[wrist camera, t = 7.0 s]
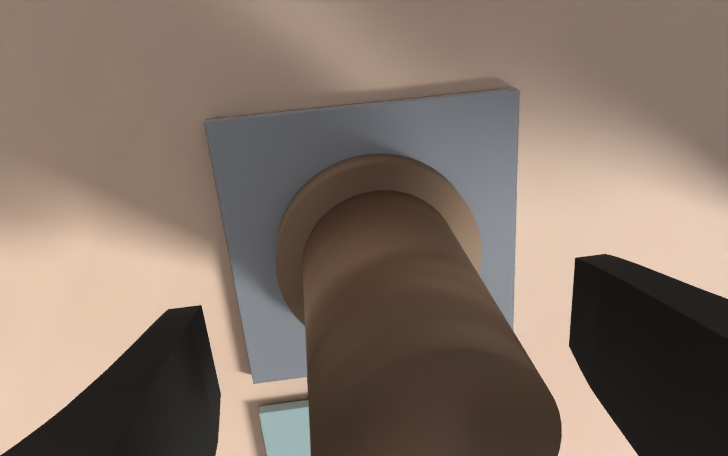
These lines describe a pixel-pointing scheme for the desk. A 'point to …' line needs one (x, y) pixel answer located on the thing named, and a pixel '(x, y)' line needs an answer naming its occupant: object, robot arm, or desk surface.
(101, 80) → the desk surface
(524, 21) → the desk surface
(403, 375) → the pawn
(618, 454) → the desk surface
